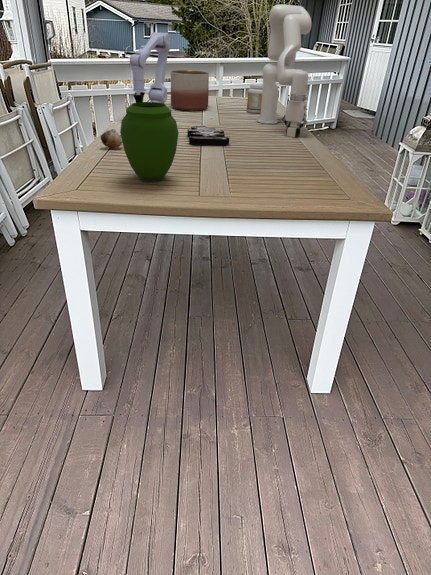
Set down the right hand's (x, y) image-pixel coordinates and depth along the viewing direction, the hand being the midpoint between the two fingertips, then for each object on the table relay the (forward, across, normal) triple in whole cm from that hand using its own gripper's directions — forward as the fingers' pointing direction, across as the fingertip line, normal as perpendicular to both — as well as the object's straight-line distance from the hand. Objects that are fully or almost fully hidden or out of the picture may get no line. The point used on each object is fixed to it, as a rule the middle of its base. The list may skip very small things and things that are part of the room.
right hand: (292, 134), depth 219 cm
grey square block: (0, 0, 0) cm, 0 cm away
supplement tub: (0, +52, -50) cm, 72 cm away
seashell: (0, +46, +86) cm, 97 cm away
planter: (0, +90, -26) cm, 93 cm away
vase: (0, +5, +106) cm, 106 cm away
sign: (0, +28, +40) cm, 49 cm away
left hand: (-8, +77, +35) cm, 85 cm away
